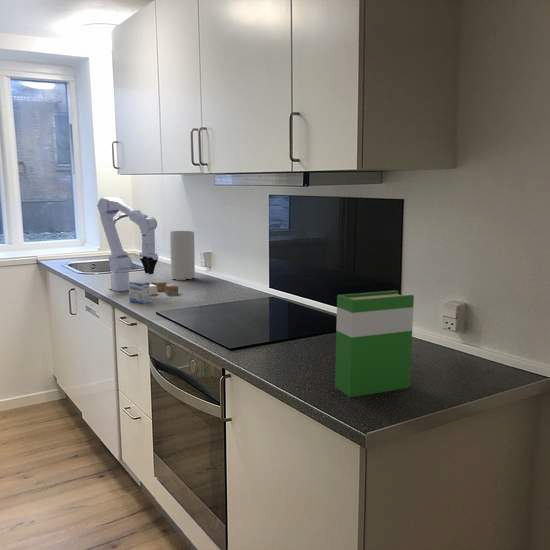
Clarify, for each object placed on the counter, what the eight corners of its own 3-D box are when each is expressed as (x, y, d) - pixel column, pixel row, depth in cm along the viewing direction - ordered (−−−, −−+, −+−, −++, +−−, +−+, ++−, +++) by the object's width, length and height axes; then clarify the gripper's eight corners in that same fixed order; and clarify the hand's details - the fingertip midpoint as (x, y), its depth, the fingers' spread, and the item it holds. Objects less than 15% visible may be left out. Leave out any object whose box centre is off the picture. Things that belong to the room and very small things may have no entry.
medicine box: (129, 301, 254) (128, 282, 253) (136, 300, 258) (135, 280, 257) (143, 303, 251) (142, 283, 250) (150, 301, 255) (149, 282, 253)
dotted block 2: (165, 293, 275) (164, 284, 274) (175, 292, 277) (175, 284, 276) (167, 295, 270) (167, 286, 269) (178, 294, 272) (178, 285, 271)
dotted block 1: (151, 290, 282) (151, 281, 281) (159, 289, 286) (159, 280, 285) (158, 291, 279) (158, 282, 278) (166, 290, 283) (166, 281, 282)
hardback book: (392, 378, 158) (396, 290, 154) (409, 387, 151) (413, 295, 147) (334, 387, 151) (337, 295, 147) (349, 397, 144) (352, 300, 140)
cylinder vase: (173, 276, 322) (172, 230, 318) (196, 276, 321) (196, 230, 317) (168, 280, 310) (167, 232, 306) (192, 280, 309) (191, 233, 305)
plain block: (142, 293, 273) (142, 285, 273) (152, 292, 276) (151, 284, 276) (147, 295, 269) (147, 286, 269) (157, 294, 272) (157, 285, 272)
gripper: (164, 244, 266) (164, 274, 268) (149, 242, 277) (149, 270, 279) (149, 245, 262) (150, 276, 264) (135, 243, 273) (136, 272, 275)
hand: (149, 273), depth 271 cm, fingers open, 3 cm apart
